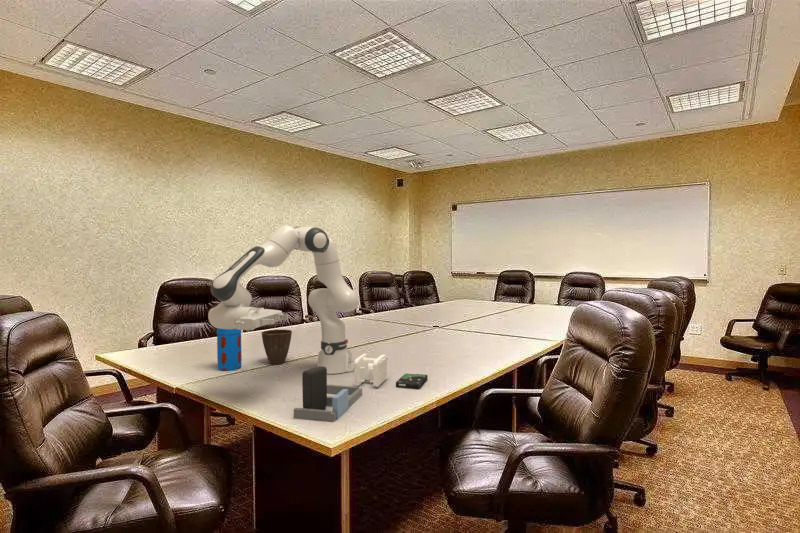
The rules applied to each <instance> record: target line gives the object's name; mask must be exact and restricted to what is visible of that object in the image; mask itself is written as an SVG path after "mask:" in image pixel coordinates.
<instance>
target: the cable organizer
mask: <svg viewBox="0 0 800 533" xmlns="http://www.w3.org/2000/svg"><path fill="white" fill-rule="evenodd" d="M388 358H389V357H388V356H387V354H381V355H379V356H378V357H377V358H372V357H369V354H368V353H363V354H361V355H359V356H358V357H357V358H355V360H354V362H355V363H354V370H353V371H354V378H353V379H354V385H355V386H356V387H360V386H361V385H362V383H365V382H366V381H369V383H370V385H371V383H372V384H373V387H375V388H379V387H380V386H381V385H382V384H383V383H384V382H385V381H386V379H387V376H388V365H387V364H388Z"/></svg>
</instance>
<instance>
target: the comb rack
mask: <svg viewBox="0 0 800 533" xmlns="http://www.w3.org/2000/svg"><path fill="white" fill-rule="evenodd" d="M327 394H334V396H330V395H327V406H326V407H332V410H330V409H329V410H328V409H327V410H326V409H323V410H317V409H306V408H303V407H294V408H293V419H300V420H310V421H311V420H312V421H323V422H332V423H334V422H335V421H336V420H338V419H339V418H340V417H342V416H343V414H344V413H346V412H347V411H348V410H349V408H350V407H351V406H352V405H353V404H354V403H355V402H356V401H357V400H358V399H359V398H360V397H361V396H362V395H363V387H360V386H356V385H355V386H352V385H338V384H327Z"/></svg>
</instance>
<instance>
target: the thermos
mask: <svg viewBox="0 0 800 533" xmlns="http://www.w3.org/2000/svg"><path fill="white" fill-rule="evenodd" d="M216 338H217V339H216V341H217V344H216V345H217V347H216V348H217V349H216V350H217V352H216V353H217V354H216V355H217V370H218V371H220V372H232V371H237V370H241V369H242V360H243V359H242V330H238V329H231V330H230V329H219V328H216Z"/></svg>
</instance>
